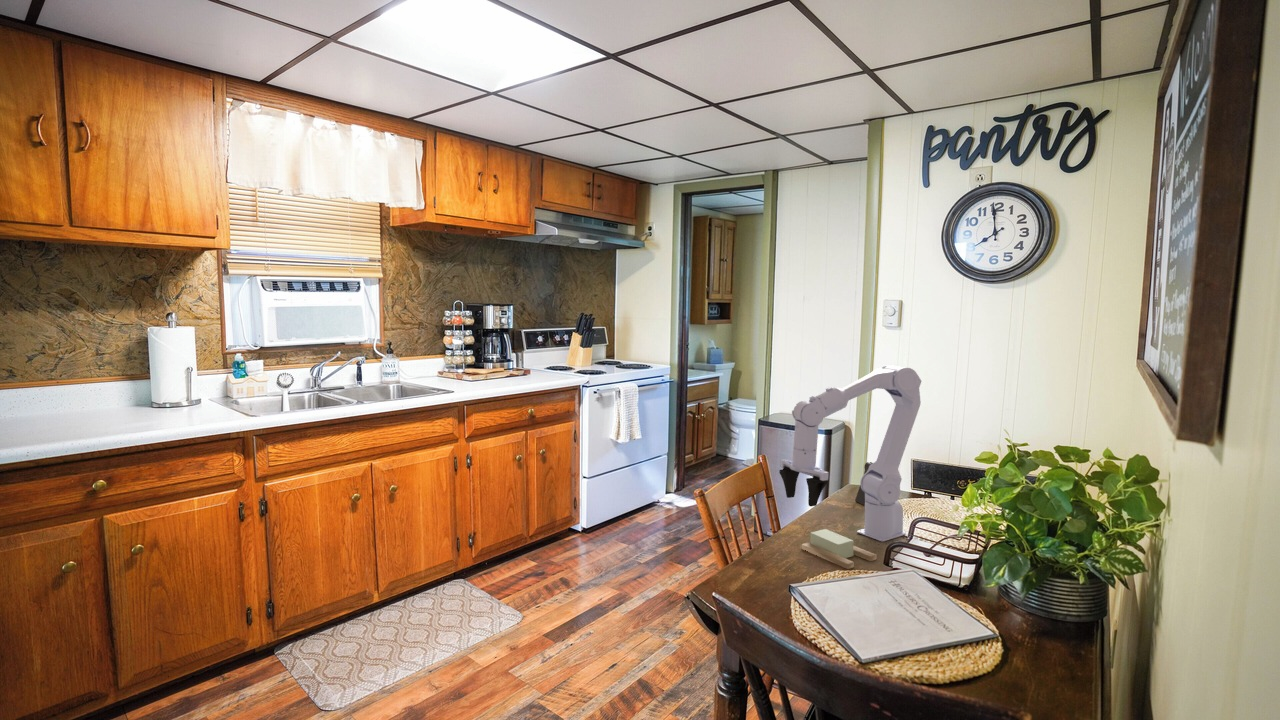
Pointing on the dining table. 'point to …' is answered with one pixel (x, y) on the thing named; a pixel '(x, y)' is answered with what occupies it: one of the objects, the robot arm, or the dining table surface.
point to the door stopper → (861, 494)
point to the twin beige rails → (839, 559)
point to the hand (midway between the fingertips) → (801, 501)
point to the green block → (832, 542)
